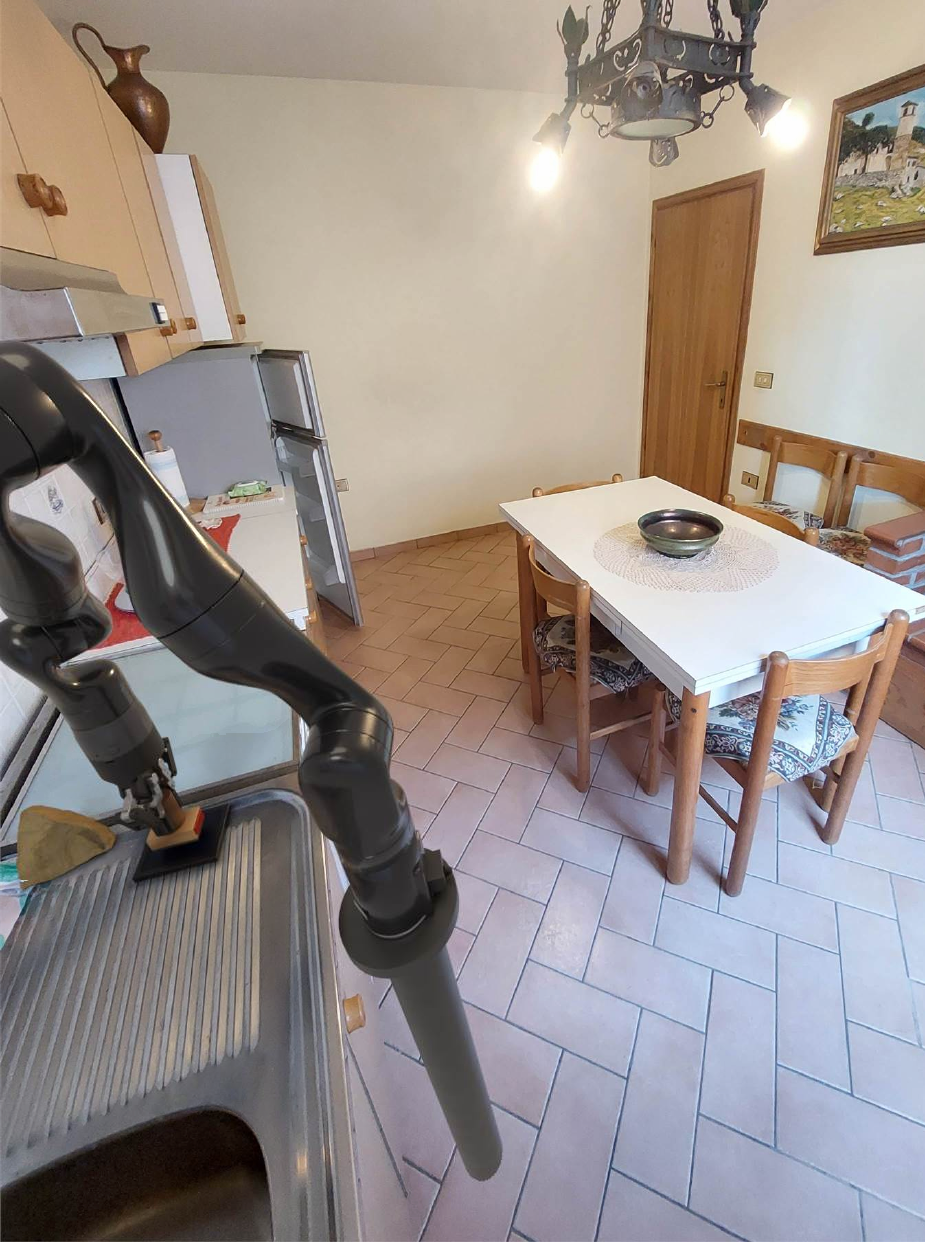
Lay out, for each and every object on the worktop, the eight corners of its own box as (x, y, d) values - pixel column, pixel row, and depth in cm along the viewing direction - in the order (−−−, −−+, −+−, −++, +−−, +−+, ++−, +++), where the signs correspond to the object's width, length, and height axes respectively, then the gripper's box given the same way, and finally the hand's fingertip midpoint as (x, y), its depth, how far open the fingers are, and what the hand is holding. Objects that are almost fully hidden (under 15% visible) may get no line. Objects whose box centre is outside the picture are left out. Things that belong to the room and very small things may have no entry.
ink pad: (231, 807, 86) (229, 803, 85) (218, 861, 78) (215, 857, 77) (156, 826, 84) (153, 822, 83) (134, 883, 76) (131, 879, 76)
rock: (130, 810, 84) (68, 803, 84) (89, 812, 76) (21, 804, 77) (102, 892, 80) (37, 884, 80) (56, 903, 72) (-16, 894, 72)
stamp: (153, 852, 77) (129, 816, 74) (162, 827, 81) (139, 792, 77) (200, 840, 79) (178, 804, 75) (207, 816, 82) (187, 780, 78)
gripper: (108, 704, 75) (158, 787, 84) (59, 788, 63) (124, 875, 71) (167, 691, 77) (210, 775, 85) (130, 771, 64) (185, 859, 73)
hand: (170, 820), depth 78 cm, fingers closed on stamp, 3 cm apart
